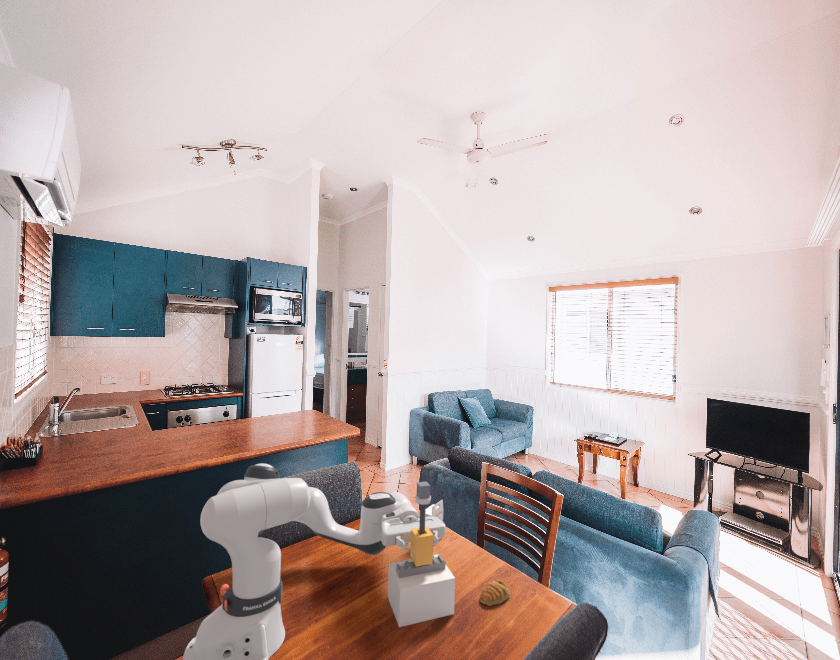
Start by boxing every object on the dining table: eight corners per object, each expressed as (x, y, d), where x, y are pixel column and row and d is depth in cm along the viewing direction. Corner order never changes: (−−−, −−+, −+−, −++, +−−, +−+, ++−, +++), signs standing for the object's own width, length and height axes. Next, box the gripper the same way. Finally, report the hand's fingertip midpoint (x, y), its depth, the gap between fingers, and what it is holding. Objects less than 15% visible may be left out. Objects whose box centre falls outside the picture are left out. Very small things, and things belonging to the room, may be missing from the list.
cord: (416, 576, 105) (418, 487, 106) (411, 567, 110) (413, 481, 110) (430, 573, 107) (433, 486, 107) (425, 564, 111) (427, 480, 111)
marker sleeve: (415, 566, 105) (416, 537, 105) (410, 556, 110) (411, 528, 110) (432, 563, 107) (433, 535, 107) (426, 553, 111) (427, 526, 112)
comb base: (399, 627, 100) (400, 579, 100) (387, 597, 111) (389, 554, 111) (454, 614, 105) (455, 568, 105) (437, 586, 116) (439, 545, 117)
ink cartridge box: (432, 533, 148) (433, 495, 148) (443, 537, 145) (444, 499, 145) (420, 543, 141) (421, 503, 141) (431, 547, 138) (432, 507, 138)
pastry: (492, 612, 106) (493, 598, 107) (474, 600, 111) (474, 587, 111) (511, 597, 113) (511, 584, 113) (493, 586, 118) (493, 574, 118)
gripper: (436, 527, 126) (453, 549, 113) (376, 536, 119) (387, 561, 106) (437, 508, 126) (454, 528, 113) (377, 516, 119) (388, 538, 106)
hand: (421, 544), depth 109 cm, fingers open, 8 cm apart
